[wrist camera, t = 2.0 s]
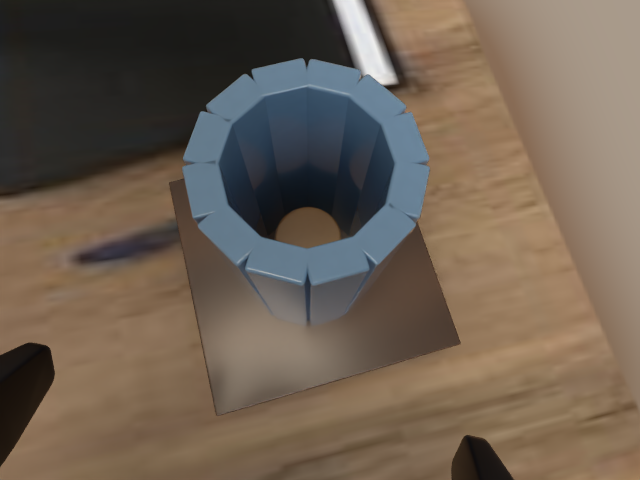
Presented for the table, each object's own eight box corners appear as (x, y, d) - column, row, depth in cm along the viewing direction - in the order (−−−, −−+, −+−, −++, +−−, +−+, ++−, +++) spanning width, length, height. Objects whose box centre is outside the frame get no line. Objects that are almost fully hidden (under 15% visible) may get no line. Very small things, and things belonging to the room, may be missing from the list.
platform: (444, 346, 22) (492, 338, 16) (226, 411, 21) (195, 427, 15) (377, 152, 25) (397, 87, 19) (182, 200, 24) (142, 147, 18)
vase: (390, 304, 20) (464, 244, 10) (260, 340, 19) (212, 312, 10) (351, 185, 22) (385, 38, 12) (230, 216, 21) (164, 87, 11)
